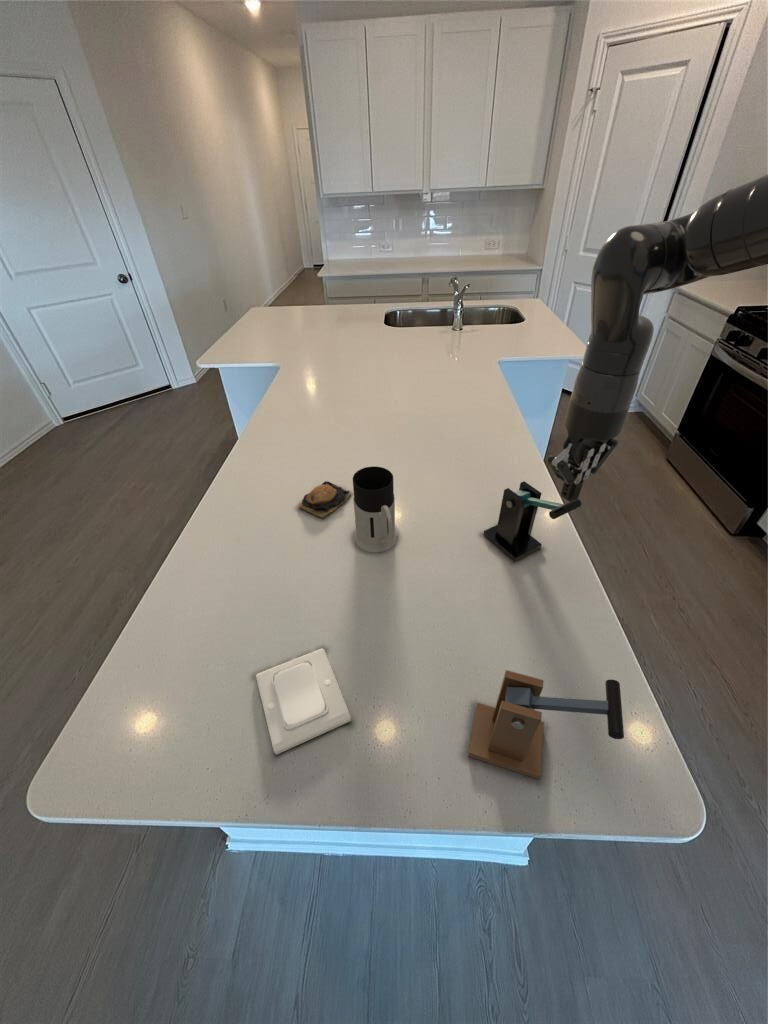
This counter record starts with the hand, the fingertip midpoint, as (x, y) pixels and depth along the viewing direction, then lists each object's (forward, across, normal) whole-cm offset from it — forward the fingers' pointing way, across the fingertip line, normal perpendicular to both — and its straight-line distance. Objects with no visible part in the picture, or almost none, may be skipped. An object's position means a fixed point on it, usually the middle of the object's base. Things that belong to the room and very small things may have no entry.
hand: (569, 497), depth 71 cm
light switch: (+18, -49, +1) cm, 52 cm away
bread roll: (+18, -26, +41) cm, 52 cm away
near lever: (+6, -24, -23) cm, 34 cm away
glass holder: (+18, -23, +22) cm, 37 cm away
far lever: (+6, 0, +4) cm, 7 cm away
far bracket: (+18, 0, +9) cm, 20 cm away
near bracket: (+18, -27, -19) cm, 38 cm away
